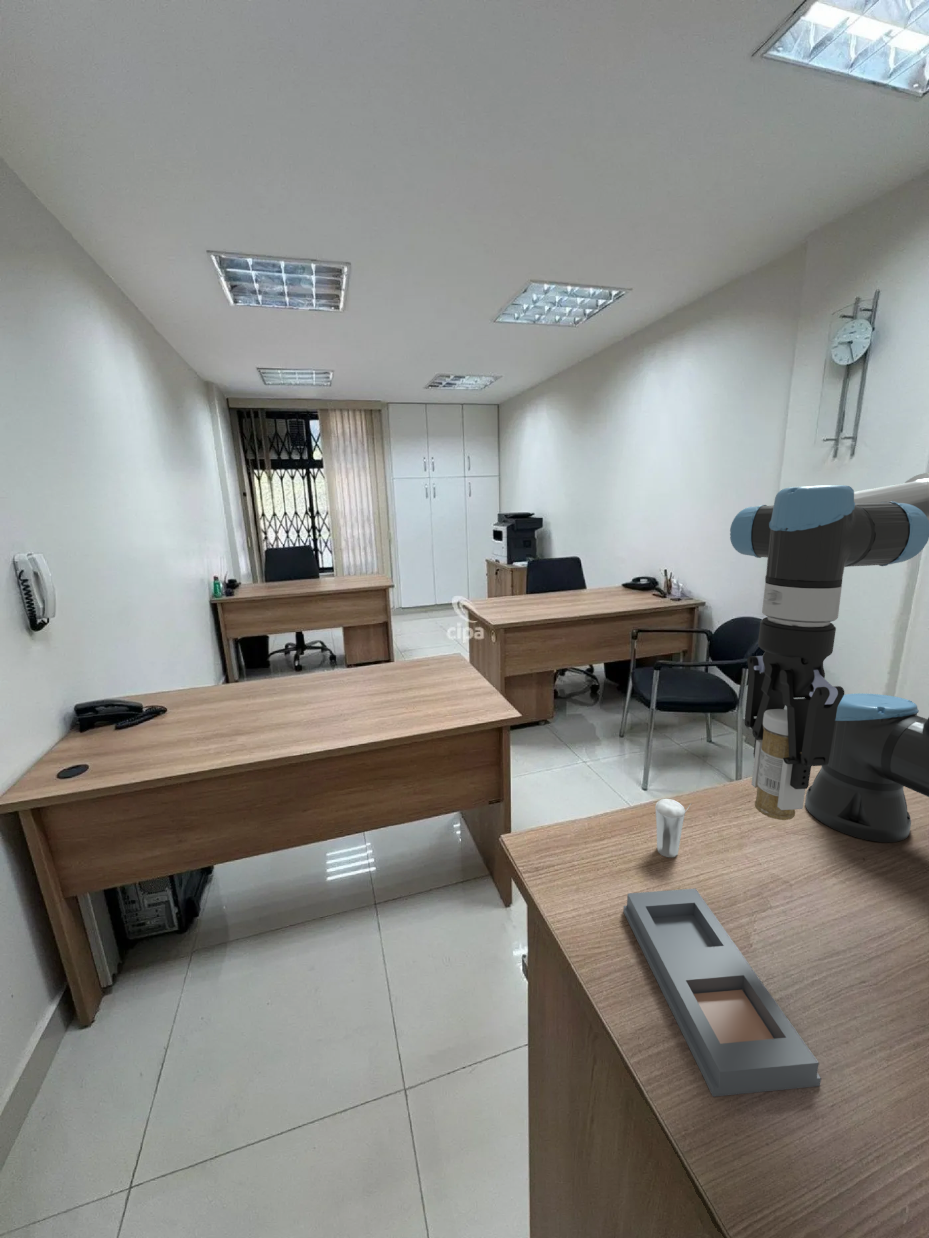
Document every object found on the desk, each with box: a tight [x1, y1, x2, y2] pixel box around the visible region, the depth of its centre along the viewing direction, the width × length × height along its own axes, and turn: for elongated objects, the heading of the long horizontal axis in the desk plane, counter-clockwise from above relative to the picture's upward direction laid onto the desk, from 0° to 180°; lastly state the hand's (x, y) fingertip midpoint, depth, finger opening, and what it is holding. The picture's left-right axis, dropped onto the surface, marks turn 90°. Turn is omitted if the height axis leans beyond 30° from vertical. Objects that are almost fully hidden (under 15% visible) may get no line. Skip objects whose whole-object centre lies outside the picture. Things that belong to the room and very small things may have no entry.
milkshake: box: [654, 798, 692, 859], centre depth 82 cm, size 4×5×10 cm
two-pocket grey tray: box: [622, 888, 822, 1098], centre depth 59 cm, size 11×23×3 cm, turn 4°
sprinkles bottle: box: [754, 708, 802, 821], centre depth 62 cm, size 5×5×14 cm
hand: (775, 795), depth 63 cm, fingers closed on sprinkles bottle, 4 cm apart
